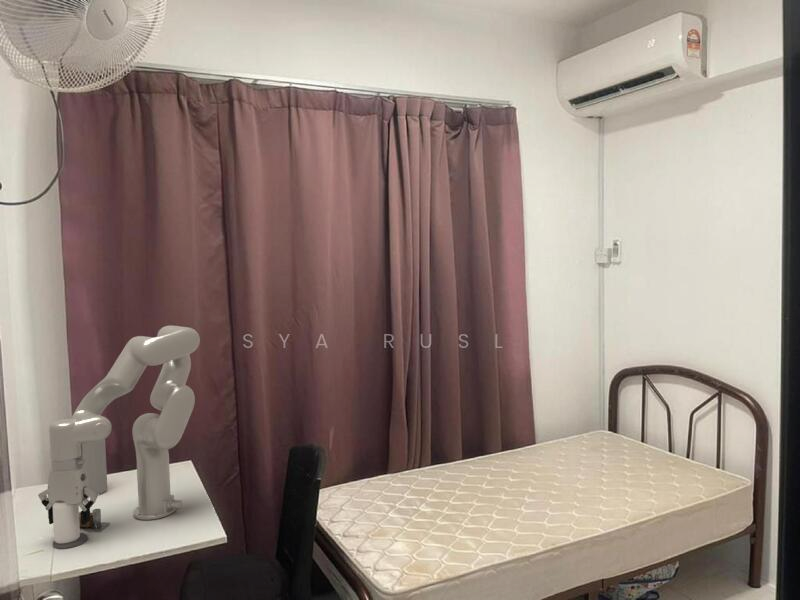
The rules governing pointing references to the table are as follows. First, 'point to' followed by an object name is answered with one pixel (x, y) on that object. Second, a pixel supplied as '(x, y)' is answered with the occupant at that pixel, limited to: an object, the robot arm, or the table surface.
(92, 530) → the ball knob on plate
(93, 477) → the water bottle
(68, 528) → the can
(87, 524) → the bar
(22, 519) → the table surface
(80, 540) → the pad
